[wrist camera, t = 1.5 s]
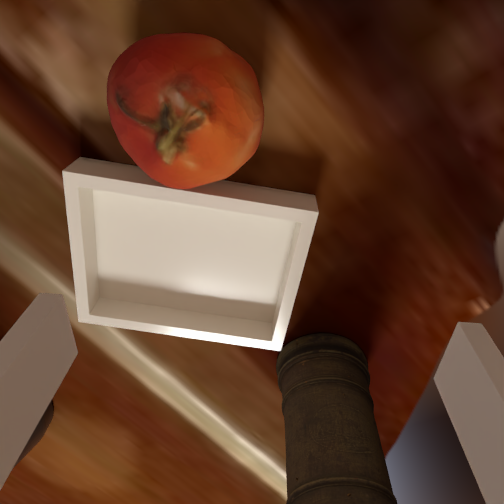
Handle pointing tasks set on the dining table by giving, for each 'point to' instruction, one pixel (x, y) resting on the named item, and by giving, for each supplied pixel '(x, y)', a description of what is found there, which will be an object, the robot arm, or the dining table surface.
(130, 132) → the tomato
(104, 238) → the dish
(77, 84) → the dining table surface
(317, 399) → the container
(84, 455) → the dining table surface
